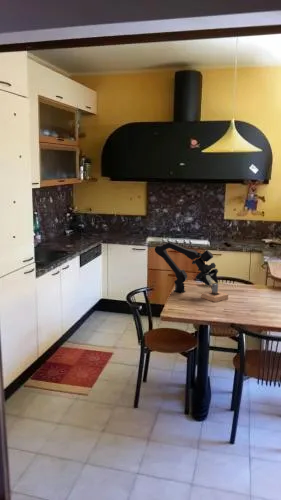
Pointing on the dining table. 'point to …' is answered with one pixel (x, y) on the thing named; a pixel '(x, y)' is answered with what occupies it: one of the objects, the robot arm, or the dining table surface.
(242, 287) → the dining table surface
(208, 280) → the pneumatic valve
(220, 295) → the docking socket
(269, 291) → the dining table surface
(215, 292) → the cylinder
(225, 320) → the dining table surface
